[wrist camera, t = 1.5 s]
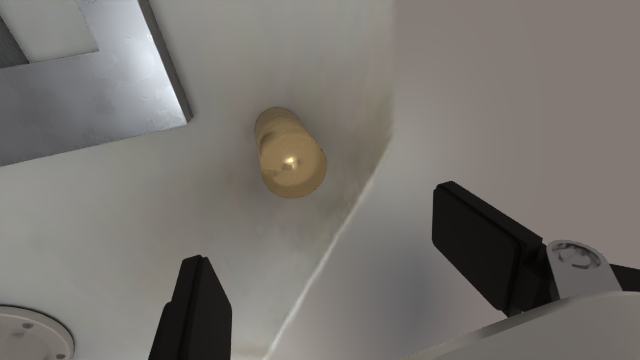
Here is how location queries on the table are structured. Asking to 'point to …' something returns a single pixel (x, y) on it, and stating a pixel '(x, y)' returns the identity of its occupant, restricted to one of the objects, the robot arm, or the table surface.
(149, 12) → the plate
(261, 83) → the table surface
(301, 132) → the tan cylinder
